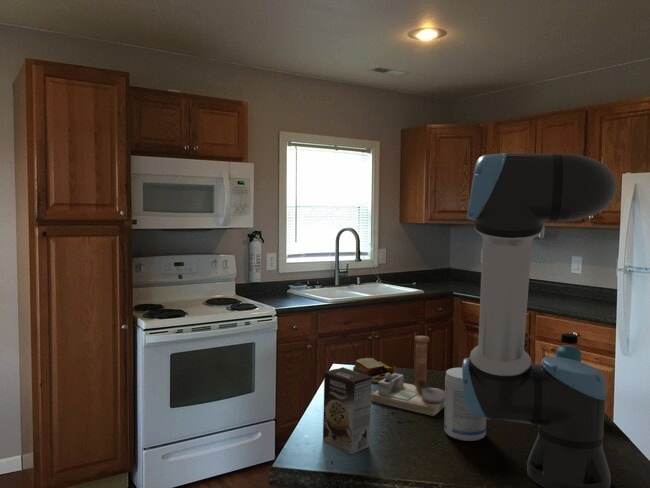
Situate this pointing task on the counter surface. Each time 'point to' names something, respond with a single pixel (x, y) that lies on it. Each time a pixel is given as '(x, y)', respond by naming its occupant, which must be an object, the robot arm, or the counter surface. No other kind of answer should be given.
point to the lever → (420, 374)
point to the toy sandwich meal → (373, 368)
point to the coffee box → (347, 409)
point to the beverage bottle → (569, 348)
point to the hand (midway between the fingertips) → (489, 316)
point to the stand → (403, 395)
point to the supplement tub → (460, 410)
